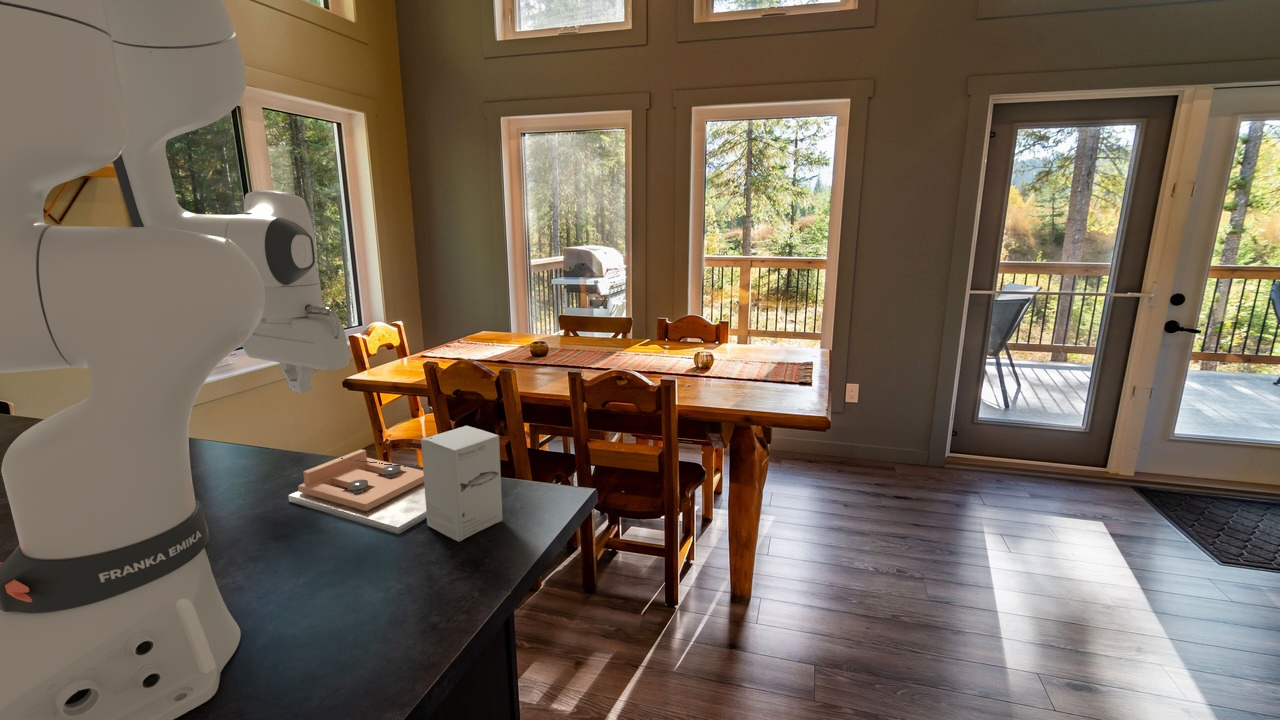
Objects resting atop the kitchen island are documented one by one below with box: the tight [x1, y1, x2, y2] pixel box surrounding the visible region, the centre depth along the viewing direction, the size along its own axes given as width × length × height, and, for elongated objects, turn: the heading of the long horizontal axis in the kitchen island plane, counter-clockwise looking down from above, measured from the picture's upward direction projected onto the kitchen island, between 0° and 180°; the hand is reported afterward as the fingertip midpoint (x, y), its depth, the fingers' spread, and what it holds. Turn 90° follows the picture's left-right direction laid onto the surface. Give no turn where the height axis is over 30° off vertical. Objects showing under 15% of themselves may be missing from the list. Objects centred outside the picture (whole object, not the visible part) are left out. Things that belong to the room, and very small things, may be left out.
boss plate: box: [287, 465, 427, 535], centre depth 85 cm, size 14×22×3 cm, turn 65°
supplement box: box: [420, 425, 504, 543], centre depth 76 cm, size 7×7×13 cm
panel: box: [298, 449, 424, 511], centre depth 86 cm, size 12×14×3 cm
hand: (300, 390), depth 89 cm, fingers closed
